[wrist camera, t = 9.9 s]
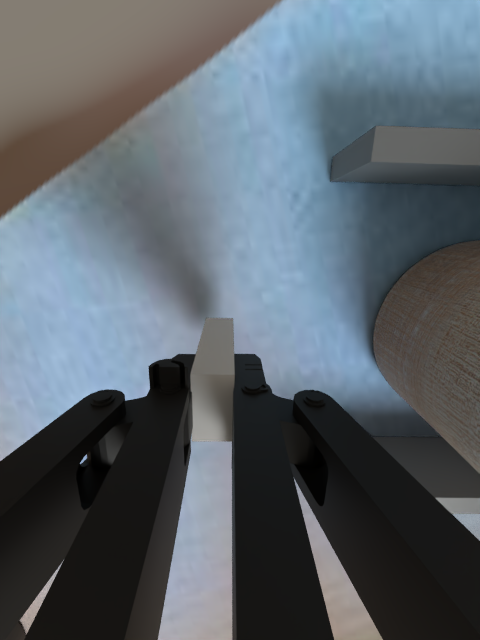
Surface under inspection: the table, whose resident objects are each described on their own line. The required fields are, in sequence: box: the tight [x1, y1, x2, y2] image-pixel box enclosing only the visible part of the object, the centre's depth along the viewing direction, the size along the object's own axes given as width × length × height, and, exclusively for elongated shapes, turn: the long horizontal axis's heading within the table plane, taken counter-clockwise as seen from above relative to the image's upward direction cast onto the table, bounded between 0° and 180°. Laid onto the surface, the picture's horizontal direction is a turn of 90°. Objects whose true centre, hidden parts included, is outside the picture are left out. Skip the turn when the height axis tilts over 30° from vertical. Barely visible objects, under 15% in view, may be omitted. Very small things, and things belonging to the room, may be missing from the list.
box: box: [330, 126, 480, 514], centre depth 16 cm, size 16×19×5 cm
